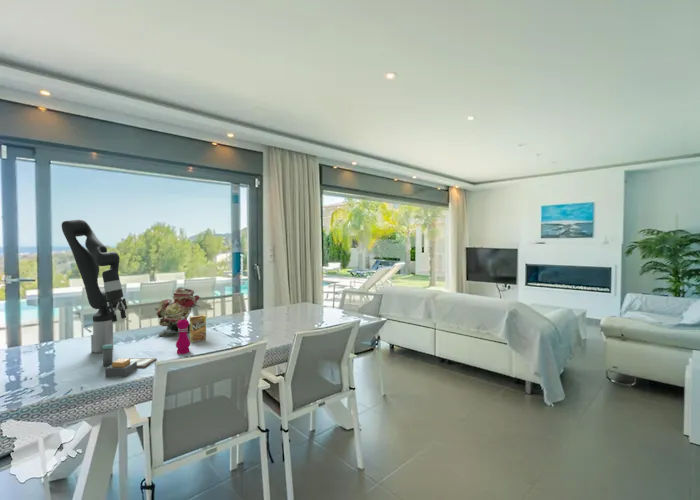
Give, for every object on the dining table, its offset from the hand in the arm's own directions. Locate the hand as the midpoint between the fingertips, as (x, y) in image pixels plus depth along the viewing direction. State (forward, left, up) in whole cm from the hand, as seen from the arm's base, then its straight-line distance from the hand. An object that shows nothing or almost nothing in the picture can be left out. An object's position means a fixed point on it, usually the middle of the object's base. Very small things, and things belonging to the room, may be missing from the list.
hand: (119, 319), depth 184 cm
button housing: (+14, -21, -20) cm, 32 cm away
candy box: (+28, +31, -20) cm, 46 cm away
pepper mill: (+29, +9, -20) cm, 37 cm away
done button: (+14, -21, -18) cm, 31 cm away
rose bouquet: (+7, +50, -20) cm, 54 cm away
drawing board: (+14, -9, -20) cm, 26 cm away
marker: (+1, -11, -20) cm, 23 cm away
